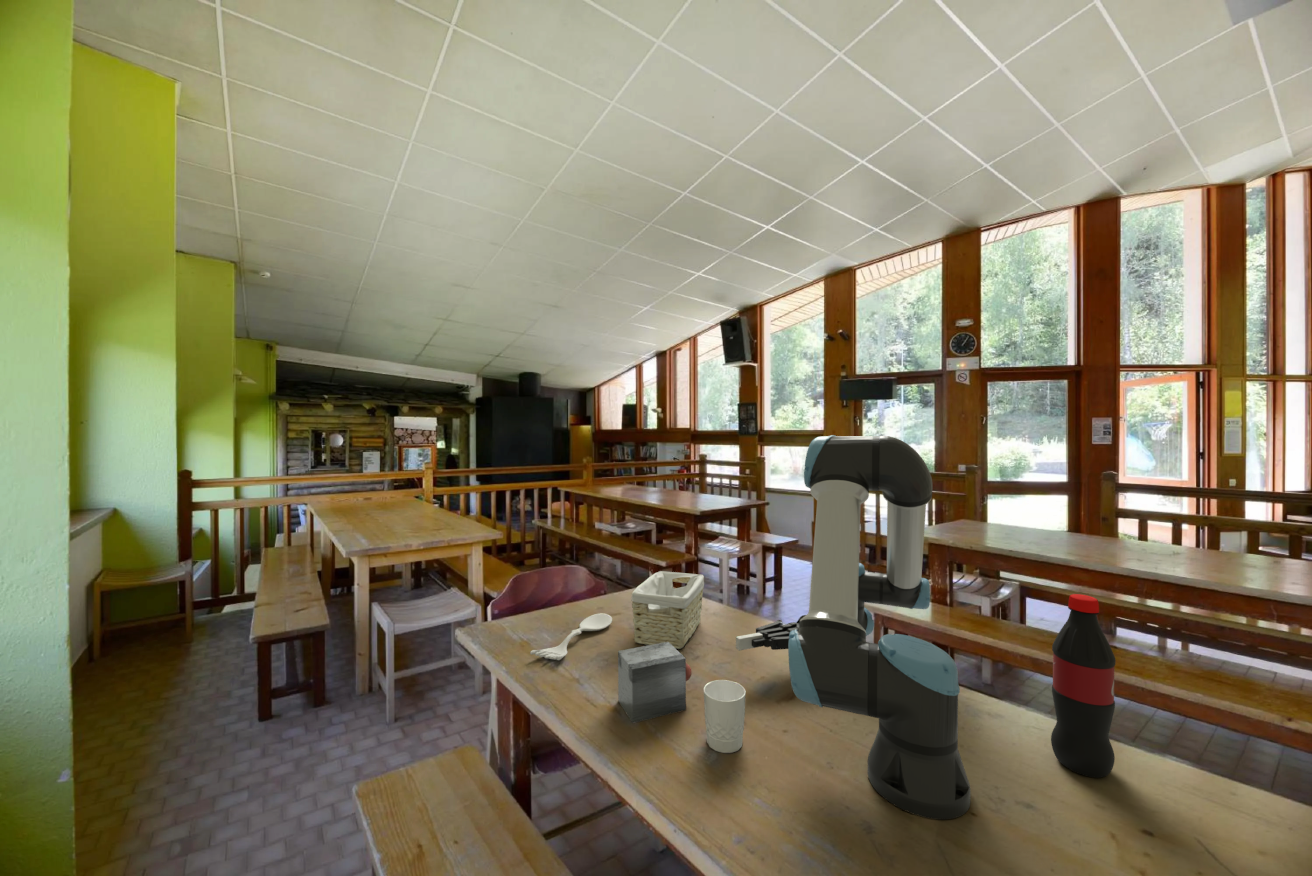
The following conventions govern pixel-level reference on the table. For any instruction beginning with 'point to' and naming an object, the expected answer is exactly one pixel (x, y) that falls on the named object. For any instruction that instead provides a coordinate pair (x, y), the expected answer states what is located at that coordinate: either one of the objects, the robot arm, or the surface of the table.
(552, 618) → the table surface
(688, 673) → the plunger
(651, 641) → the storage basket
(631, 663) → the block
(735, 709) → the white cup
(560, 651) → the white plastic spork
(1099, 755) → the cola bottle
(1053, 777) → the table surface
